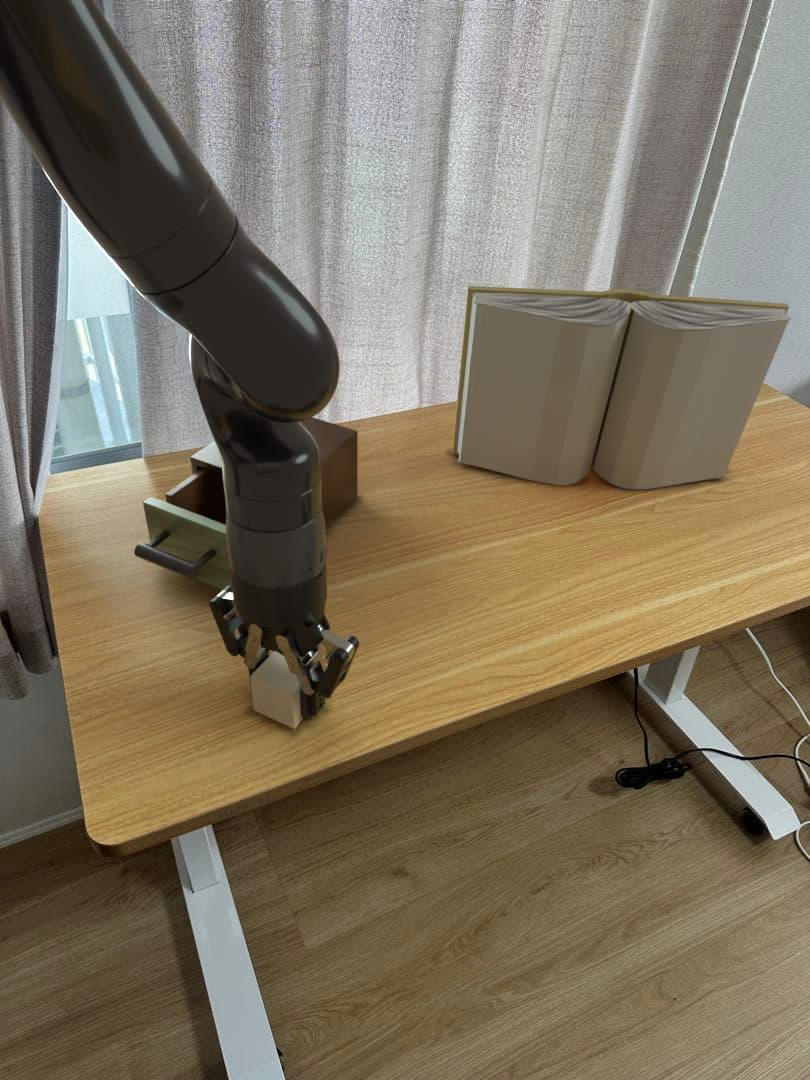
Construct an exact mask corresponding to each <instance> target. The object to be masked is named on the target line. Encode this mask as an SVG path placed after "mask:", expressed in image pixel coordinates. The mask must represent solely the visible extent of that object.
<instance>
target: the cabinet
mask: <svg viewBox="0 0 810 1080" xmlns="http://www.w3.org/2000/svg"><path fill="white" fill-rule="evenodd" d="M300 423H301V424H302V425H303V426H304V427H305V428H306V430H307V431H308V432H309V433H310V434H311V435H312V437H313V438H314V440H315V442H316V444H317V446H318V449H319V454H320V462H321V490H322V510H323V516H324V520H325V528H326V529H328V527H330V526H331V525H332V524H333V523H334V522H335V521H336V520H337V519H338V518H339V517H340V516H341V515H342V514H343V513H345V511H347V509H348V508H349V507H351V506H352V505H353V504H354V503H355V502H356V501H357V500H358V452H359V451H358V450H359V449H358V446H359V445H358V444H359V443H358V440H359V439H358V438H359V437H358V436H359V435H358V434H359V433H358V430H355V429H353V428H349V427H346V426H343V425H339V424H336V423H333V422H330V421H326V420H323V419H320V418H316V417H314V416H313V417H311V418H309V419H307V420H304V421H301V422H300ZM189 458H190V466H191V474H192V475H193V474H195V473H196V472H197V471H199V470H200V469H202V468H206V469H209V470H212V471H215V472H218V473H220V474H222V461H221V457H220V454H219V452H218V449H217V446H216V444H215V442H214V440H213V441H212V442H210V443H209V444H207V445H206V446H205V447H203V448H201V449H200V450H198V451H197V452H196V453H194V454H192V455H191V456H190V457H189Z"/></svg>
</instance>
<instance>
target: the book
mask: <svg viewBox="0 0 810 1080" xmlns="http://www.w3.org/2000/svg"><path fill="white" fill-rule="evenodd" d="M466 292H467V294H466V302H465V312H464V313H465V314H464V324H463V325H464V326H463V334H462V345H461V354H460V355H461V356H460V364H459V365H460V366H459V376H458V377H459V378H458V386H457V397H456V408H455V418H454V419H455V420H454V428H453V429H454V431H453V438H452V440H453V441H452V448H451V449H452V451H451V455H452V456H456V457H457V456H458V459H457V460H456V463H460V464H464V465H467V466H473V467H475V468H480V469H484V470H488V471H492V472H496V473H499V474H502V475H503V474H504V475H508V476H511V477H514V478H519V479H522V480H526V481H531V482H535V483H540V484H542V485H543V484H544V485H551V486H569V485H573V484H576V483H578V482H579V481H581V480H582V479H584V478H585V477H586V476H587V475H588V474H589V472H590V470H591V469H592V470H593V472H594V473H595V474H596V475H597V476H598V477H599V478H601V479H602V480H604V481H605V482H606V483H608V484H610V485H611V486H614V487H616V488H618V489H619V488H620V489H624V490H628V491H629V490H630V491H640V490H642V491H643V490H653V489H659V488H666V487H671V486H678V485H685V484H690V483H696V482H701V481H708V480H715V479H722V478H726V477H728V476H727V474H726V473H727V471H728V469H729V466H730V463H731V461H732V458H733V457H734V454H735V452H736V449H737V446H738V444H739V442H740V440H741V437H742V434H743V433H744V429H745V428H746V425H747V423H748V420H749V418H750V415H751V413H752V410H753V408H754V406H755V403H756V401H757V398H758V396H759V393H760V392H761V389H762V387H763V384H764V381H765V379H766V376H767V374H768V371H769V370H770V368H771V364H772V362H773V360H774V358H775V355H776V353H777V350H778V347H779V345H780V343H781V340H782V338H783V335H784V333H785V330H786V328H787V326H788V324H789V321H790V320H791V321H792V320H793V318H792V317H790V316H789V315H787V313H788V310H789V308H790V306H789V304H788V303H782V302H769V301H756V300H755V301H754V300H742V299H740V300H739V299H727V298H715V297H714V298H713V297H712V298H711V297H700V296H699V297H698V296H685V295H673V294H672V295H669V294H657V293H648V292H645V291H641V290H635V289H628V288H627V289H626V288H613V289H607V290H604V291H598V290H596V291H595V290H575V289H550V288H529V287H528V288H526V287H505V286H504V287H503V286H479V285H467V291H466Z"/></svg>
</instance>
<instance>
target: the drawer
mask: <svg viewBox="0 0 810 1080" xmlns="http://www.w3.org/2000/svg"><path fill="white" fill-rule="evenodd" d="M165 500H166V501H163V500H161V499H158V498H155V497H153V496H150V497H148V498H147V499H145V500H144V501H142V505H143V510H144V517H145V520H146V526H147V531H148V536H149V541H148V542H147V543H144V542H139V543H137V544H136V546H135V548H134V550H133V553H134V556H135V557H136V558H138V559H142V560H144V561H146V562H148V563H151V564H154V565H156V566H158V567H161V568H163V569H166V570H168V571H170V572H173V573H174V574H178V575H180V576H182V577H184V578H187V579H190V580H195V579H196V580H197V581H200V582H202V583H205V584H208V585H211V586H213V587H215V588H217V589H220V590H221V591H222V590H224V589H225V588H226V587H227V586H228V585H231V576H230V567H229V559H228V550H227V542H226V518H227V513H226V502H225V493H224V484H223V474H220V473H218V472H215V471H212V470H209V469H206V468H202V469H200V470H199V471H197V472H196V473H195V474H192V475H190V476H189V477H187V478H186V479H185V480H183V481H182V482H180V483H179V484H178V485H176V486H175V487H173V488H171V489H170V490H169V491H168V492H166V493H165ZM231 586H232V585H231Z"/></svg>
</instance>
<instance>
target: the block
mask: <svg viewBox="0 0 810 1080" xmlns="http://www.w3.org/2000/svg"><path fill="white" fill-rule="evenodd" d="M269 655H270V656H269V657H268V658H267V659H266V660H265V661H264V662H263V663H262V664H261V665H260V667H259V668H258V669H257V670H256V671H255V672H254V673H253V674H252V675H251V676H250V678H249V681H250V680H251V685H250V689H251V698H252V707H253V711H255V712H257V713H258V714H261V715H263V716H264V717H267V718H269V719H272V720H274V721H276V722H278V723H280V724H282V725H284V726H286V727H288V728H291V729H292V730H295V729H296V728H297V727H298V726H299V724H300V723H302V721H303V720H304V718H302V717H301V704H300V690H301V687H300V684H299V681H298V679H297V676H296V675H295V674H291V673H290V670H289V667H288V665H287V662H286V660H285V657H284V656H283V655H281V654H280V653H278V652H276V651H272V652H271V654H269ZM312 671H313V670H312V668H311V670H310V674H311V672H312Z"/></svg>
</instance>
